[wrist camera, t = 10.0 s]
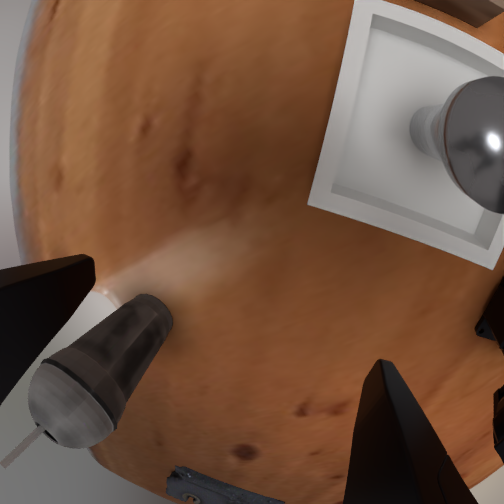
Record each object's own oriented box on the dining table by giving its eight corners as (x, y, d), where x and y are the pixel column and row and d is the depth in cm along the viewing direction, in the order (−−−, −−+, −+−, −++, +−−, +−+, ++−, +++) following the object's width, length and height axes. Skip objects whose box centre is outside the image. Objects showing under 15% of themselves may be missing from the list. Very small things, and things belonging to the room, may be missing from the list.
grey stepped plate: (268, 516, 47) (262, 533, 43) (171, 481, 50) (162, 497, 46) (292, 500, 40) (286, 522, 36) (173, 458, 43) (162, 479, 39)
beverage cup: (192, 350, 28) (75, 525, 11) (132, 337, 30) (13, 475, 13) (177, 284, 25) (7, 475, 8) (113, 277, 27) (-43, 415, 10)
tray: (520, 86, 12) (547, 84, 9) (474, 247, 17) (492, 270, 14) (354, 13, 14) (355, -7, 11) (313, 190, 19) (307, 204, 16)
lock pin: (472, 111, 13) (562, 116, 5) (454, 178, 15) (530, 232, 7) (407, 83, 14) (463, 52, 6) (389, 153, 16) (431, 185, 8)
